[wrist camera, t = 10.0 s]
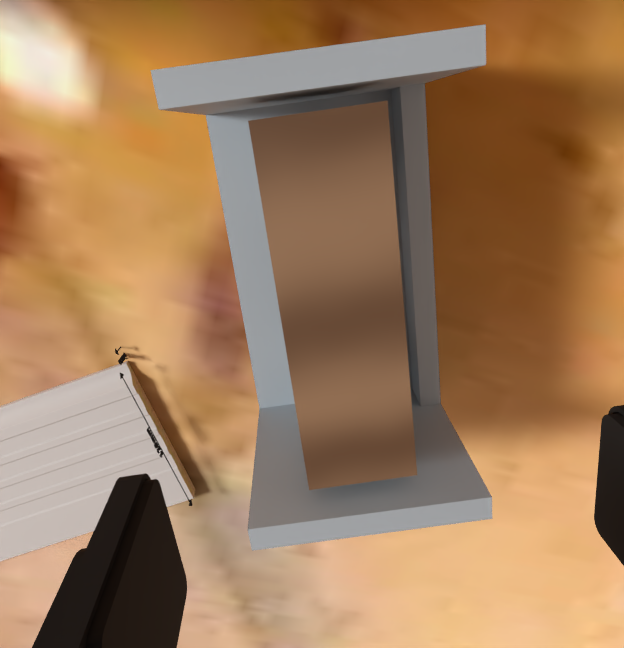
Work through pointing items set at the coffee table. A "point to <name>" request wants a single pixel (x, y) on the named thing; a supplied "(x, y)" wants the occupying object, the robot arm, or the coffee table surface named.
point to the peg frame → (259, 285)
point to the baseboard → (78, 457)
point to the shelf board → (339, 288)
